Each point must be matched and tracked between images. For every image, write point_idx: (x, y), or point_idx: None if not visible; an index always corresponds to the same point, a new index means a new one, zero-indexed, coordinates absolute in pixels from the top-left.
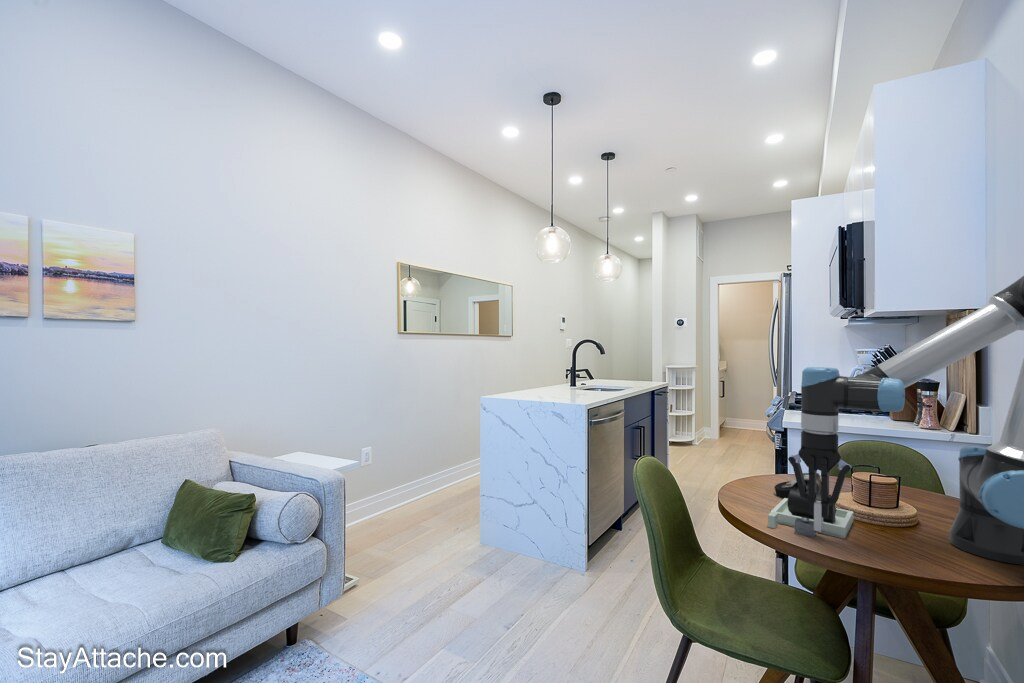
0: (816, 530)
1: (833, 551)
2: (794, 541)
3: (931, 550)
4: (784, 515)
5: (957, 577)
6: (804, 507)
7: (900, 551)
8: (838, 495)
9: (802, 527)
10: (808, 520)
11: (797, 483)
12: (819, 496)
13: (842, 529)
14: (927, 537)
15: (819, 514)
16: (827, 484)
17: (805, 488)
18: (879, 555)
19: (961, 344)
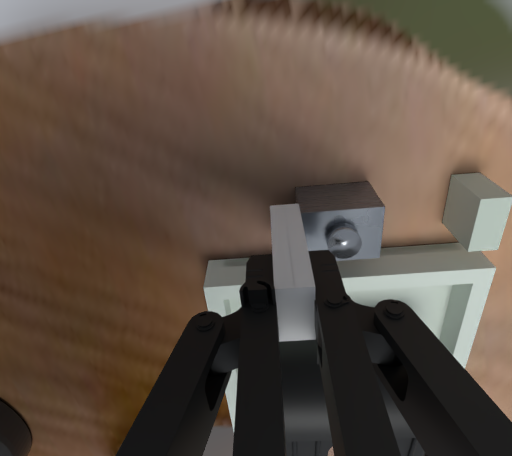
0: (288, 205)
1: (193, 89)
2: (354, 78)
3: (11, 339)
4: (433, 270)
5: None
6: None
7: (51, 274)
8: (166, 364)
9: (345, 199)
10: (329, 236)
11: (471, 379)
12: (324, 425)
13: (212, 281)
14: (66, 412)
15: (280, 249)
16: (234, 432)
17: (394, 384)
18: (69, 188)
19: None
